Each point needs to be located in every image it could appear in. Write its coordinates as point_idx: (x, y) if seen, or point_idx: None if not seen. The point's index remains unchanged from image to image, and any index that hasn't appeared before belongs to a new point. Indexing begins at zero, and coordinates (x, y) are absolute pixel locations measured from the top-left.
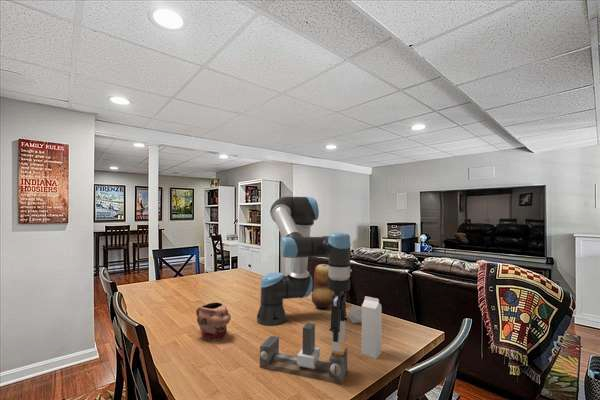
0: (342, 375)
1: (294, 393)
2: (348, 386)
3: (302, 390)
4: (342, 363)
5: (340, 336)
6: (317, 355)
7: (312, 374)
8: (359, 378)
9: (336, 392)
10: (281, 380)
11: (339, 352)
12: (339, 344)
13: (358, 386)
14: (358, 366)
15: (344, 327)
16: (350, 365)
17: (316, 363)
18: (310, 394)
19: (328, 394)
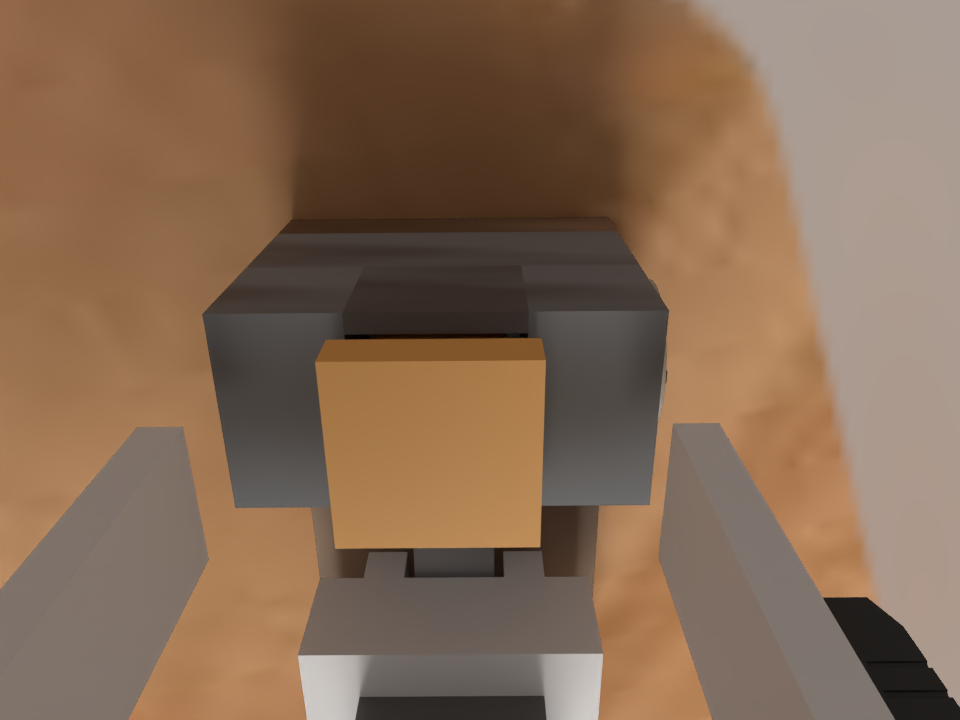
0: (625, 247)
1: (857, 580)
2: (623, 146)
3: (802, 538)
4: (657, 300)
5: (771, 632)
6: (421, 620)
7: (595, 538)
8: (408, 39)
9: (767, 251)
10: (699, 710)
11: (543, 416)
12: (769, 517)
13: (588, 26)
14: (127, 96)
15: (33, 642)
16: (159, 202)
17: (474, 568)
18: (848, 466)
19: (817, 319)
